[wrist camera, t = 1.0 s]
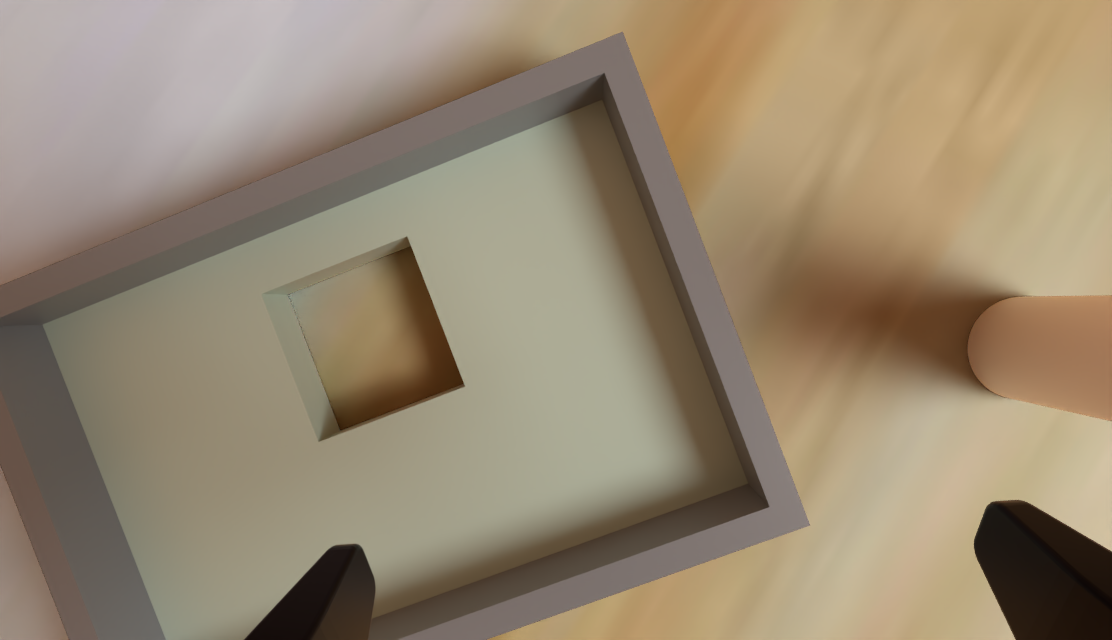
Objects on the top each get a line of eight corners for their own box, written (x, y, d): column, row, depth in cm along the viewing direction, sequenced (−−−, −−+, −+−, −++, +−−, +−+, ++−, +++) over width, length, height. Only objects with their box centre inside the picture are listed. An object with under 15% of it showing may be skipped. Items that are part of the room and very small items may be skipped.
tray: (767, 482, 24) (810, 525, 19) (203, 685, 25) (120, 768, 21) (615, 83, 23) (622, 31, 19) (56, 309, 25) (-61, 310, 20)
